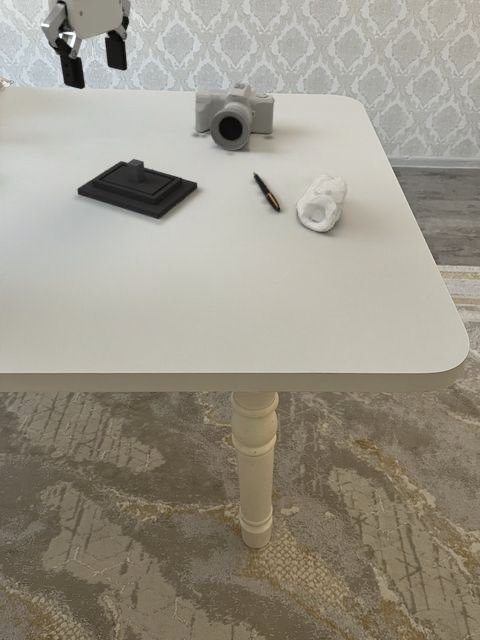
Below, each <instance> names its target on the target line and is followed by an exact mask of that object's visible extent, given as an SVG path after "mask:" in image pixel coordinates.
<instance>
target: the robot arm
mask: <svg viewBox="0 0 480 640" xmlns="http://www.w3.org/2000/svg"><path fill="white" fill-rule="evenodd" d="M47 4H48V5H47V6H48V15H47V16H46V17H45V19H44V20H43V21H42V23H41V25H40V28H41V30H42V32H43V34H44V37H45V38H46V40H47V43H48V45H49V46H50V48H52V50H54V53H55V55H56V56H59V60H60V67H61V73H62V79H63V83H64V85H65V86H67V87H70V88H74V89H78V90H83V89H85V88H86V82H85V74H84V68H83V67H84V66H83V60H82V57H80V56H79V55H78V54H79V51H80V48H81V45H82V41H83V40H87V39H91V38H95V37H97V36H100V35H103V34H106V35H107V36H106V37H104V46H105V54H106V64H107V67H108V68H111V69H114V70H119V71H122V72H124V71H127V70H128V59H127V49H126V48H127V47H126V40H127V39H128V32H127V30H128V27H129V24H130V18H129V17H130V13H131V7H132V2H131V1H130V0H47ZM69 39H70V41H71V42H70V45H69V44H68V42H69Z"/></svg>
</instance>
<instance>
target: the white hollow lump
mask: <svg viewBox="0 0 480 640" xmlns="http://www.w3.org/2000/svg"><path fill="white" fill-rule="evenodd" d="M347 186H348V185H347V183H346V180H345V179H344V178H342V176H339V177H335V178H334V177H333V176H332V175H331V174H328V173H324V174H320V175H319V176H317V177H316V179H315V180H314V181H313V183H312V184H311V185H310V186H309V188H308V189H307V191H306V192H305V194H304V195H303V197H301V198H299V200H297V201H296V208H295V209H296V211H297V214H298V215H297V216H298V219H299V220H300V222H301V223H302V225H304V226H305V227H306V228H307V229H310V230H312V231H315V232H321V233H322V232H327V231H330V230H331V229H332V228H333V227H334V226H335V224H336V223H337V222H338V221H339V220H340V218H341V215H342V213H341V212H342V205H343V203H344V201H345V198H346V196H347V193H348V187H347Z"/></svg>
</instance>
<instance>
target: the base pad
mask: <svg viewBox="0 0 480 640" xmlns="http://www.w3.org/2000/svg"><path fill="white" fill-rule="evenodd" d="M127 163H128V162H126V161H121V160H120V161H119V162H117V163H115V164H114V165H113V166H110V167H109V168H108V169H106V170H104V171H103V172H101V173H100V174H98V175H97V176H94V178H92V179H90V180H88V181H87V182H85V183H84V184H83V185H80V186H79V187H78V188H77V194H78V195H80V196H83V197H86V198H90V199H92V200H96V201H99V202H103V203H106V204H109V205H112V206H115V207H118V208H122V209H126V210H129V211H131V212H135V213H138V214H141V215H145V216H148V217H151V218H155V219H158V220H160V219H161V218H162V217H163V216H165V215H166V214H167V213H168V212H169V211H171V210H172V209H173V208H174V207H176V206H177V205H178V204H180V202H182V201H183V200H185V199H186V198H187V197H188V196H190V195H191V194H192V193H194V191H195V190H197V189H198V182H197V181H196V182H195V181H192V180H189V179H186V178H183V177H180V176H176V175H173V174H169V173H166V172H162V171H159V170H155V169H151V168H148V167H145V166H144V170H145V172H148V173H151V174H155V175H158V176H162V177H165V178H169V179H172V182H171V183H170V184H168V185H167V186H166V187H164V188H163V189H162V190H160V191H159V192H158V193H156V194H155V195H154V196H152V195H149V194H146V193H142V192H139V191H135V190H132V189H129V188H125V187H122V186H118V185H115V184H112V183H108V182H105V181H102V179H103V178H105V177H106V176H108V175H109V174H111V173H113V172H114V171H116V170H117V169H119V168H120V167H122V166H126V167H127Z"/></svg>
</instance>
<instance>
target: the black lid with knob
mask: <svg viewBox="0 0 480 640" xmlns="http://www.w3.org/2000/svg"><path fill="white" fill-rule="evenodd" d="M144 167H145V161H143V160H140V159H137V158H136V159H135V158H133V159H131V160H130V161H128V162H127V167H126V166H122V167H120V168H119V169H117V170H116V171H114V172H113V173H111V174H109V175H108V176H106V177H105V178H103V179H102V181H105V182H108V183H112V184H115V185H118V186H122V187H125V188H129V189H132V190H135V191H139V192H142V193H146V194H149V195H152V196H154V195H155V194H156V193H158V192H159V191H160V190H162V189H163V188H164V187H166V186H167V185H168V184H170V183H171V182H172V179H169V178H165V177H162V176H158V175H155V174H151V173H148V172H145V170H144Z"/></svg>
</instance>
